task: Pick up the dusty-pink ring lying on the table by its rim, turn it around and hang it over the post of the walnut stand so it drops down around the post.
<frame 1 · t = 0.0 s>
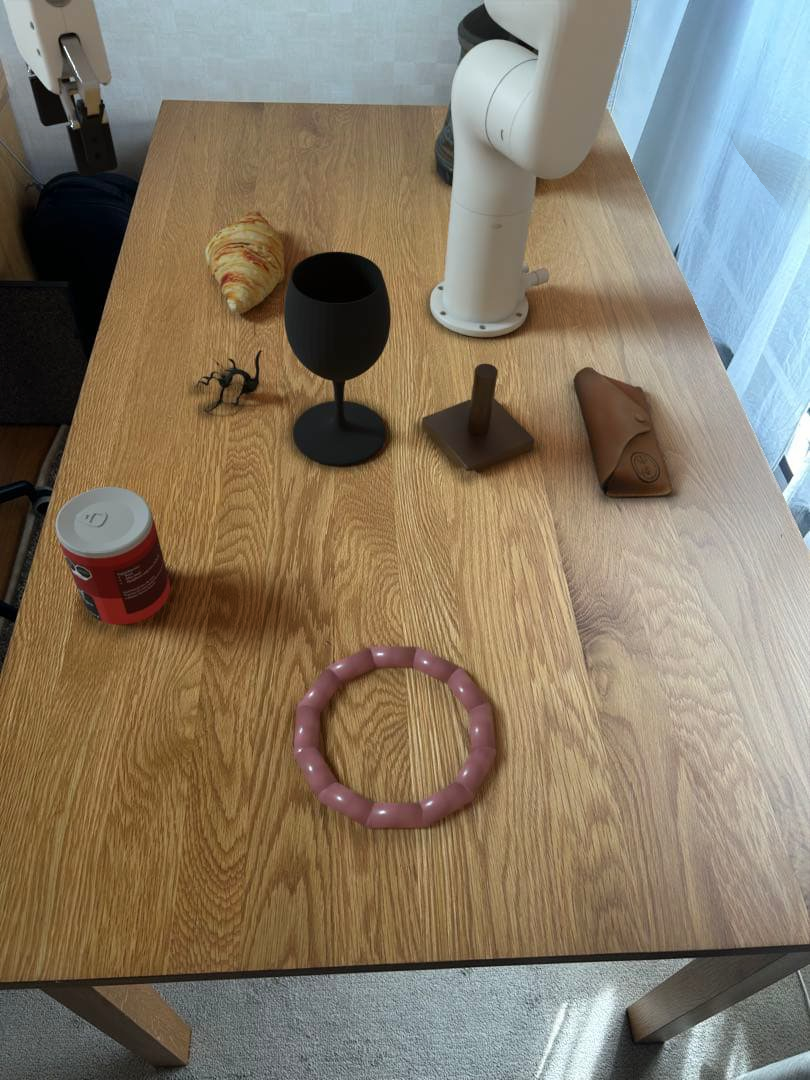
hand: (78, 146, 76), 31 cm above the table, tool pointing down, fingers open, 9 cm apart
wine glass: (339, 435, 100), on the table
sunglasses case: (619, 440, 101), on the table
stand: (476, 438, 100), on the table
ring: (394, 731, 75), point 1 cm above the table
creature: (228, 395, 103), on the table
croissant: (246, 276, 119), on the table
beer stein: (492, 175, 139), on the table
canned food: (128, 598, 84), on the table
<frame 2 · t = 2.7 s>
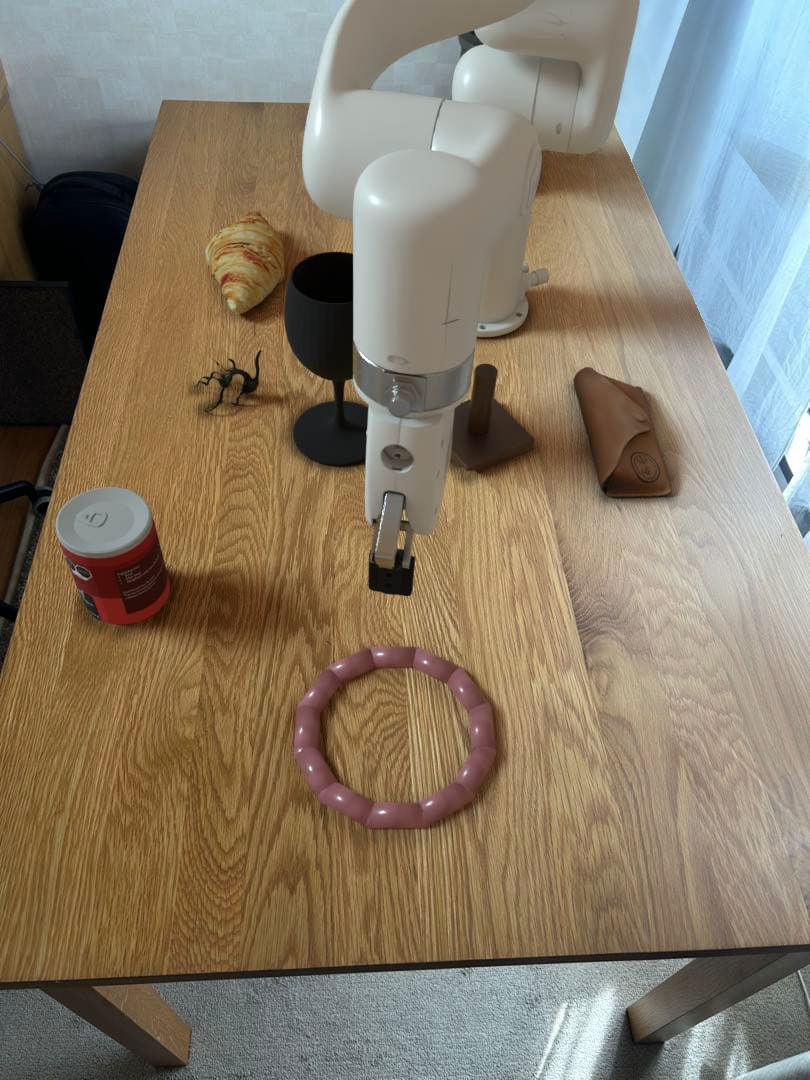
hand: (401, 541, 69), 16 cm above the table, tool pointing down, fingers open, 9 cm apart
nothing on the table moved.
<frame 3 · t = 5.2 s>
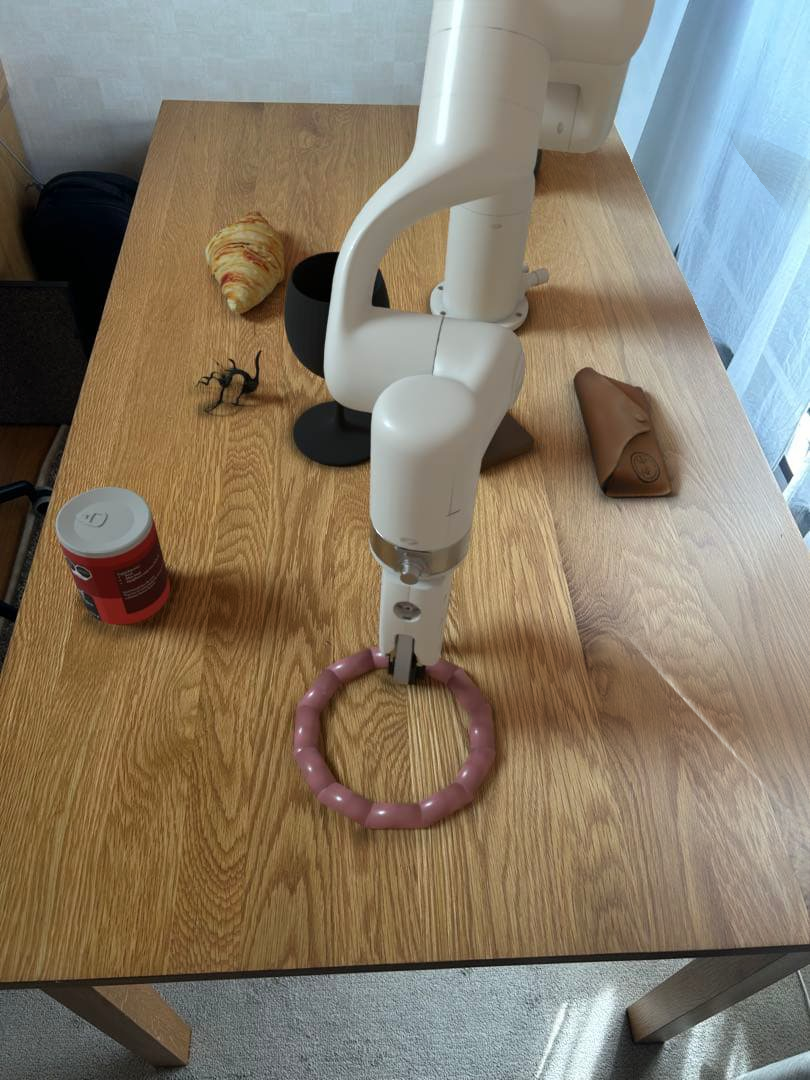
hand: (409, 663, 80), 0 cm above the table, tool pointing down, fingers closed on ring, 2 cm apart
ring: (394, 732, 75), point 1 cm above the table, touching gripper
everything else where it was.
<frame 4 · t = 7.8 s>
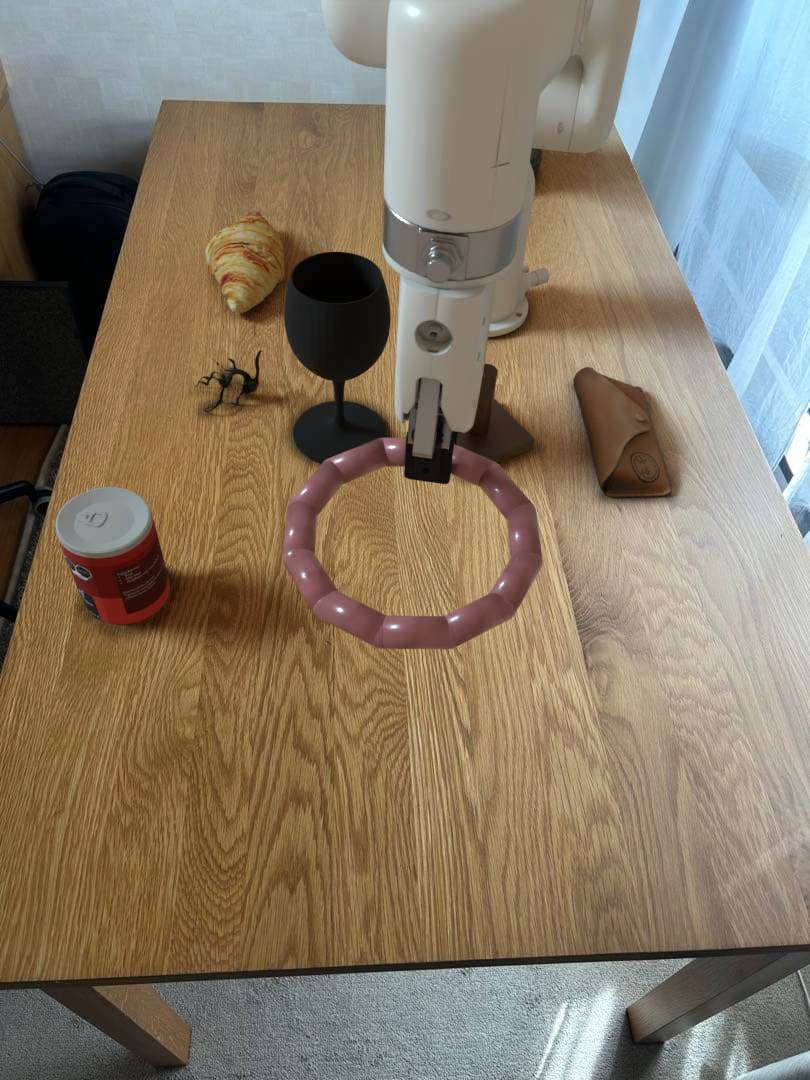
hand: (430, 461, 64), 24 cm above the table, tool pointing down, fingers closed on ring, 2 cm apart
ring: (412, 535, 59), point 24 cm above the table, touching gripper
everything else where it was.
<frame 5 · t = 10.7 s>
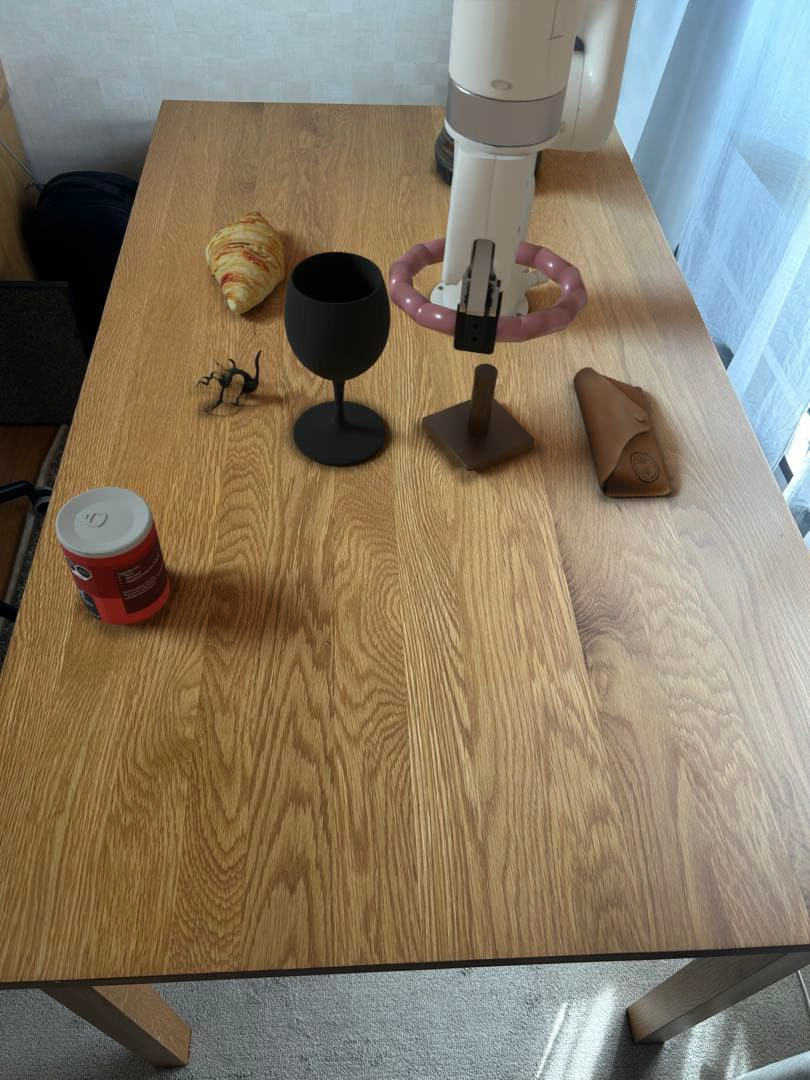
hand: (475, 336, 72), 25 cm above the table, tool pointing down, fingers closed on ring, 2 cm apart
ring: (487, 285, 76), point 25 cm above the table, tilted 7°, touching gripper
everything else where it was.
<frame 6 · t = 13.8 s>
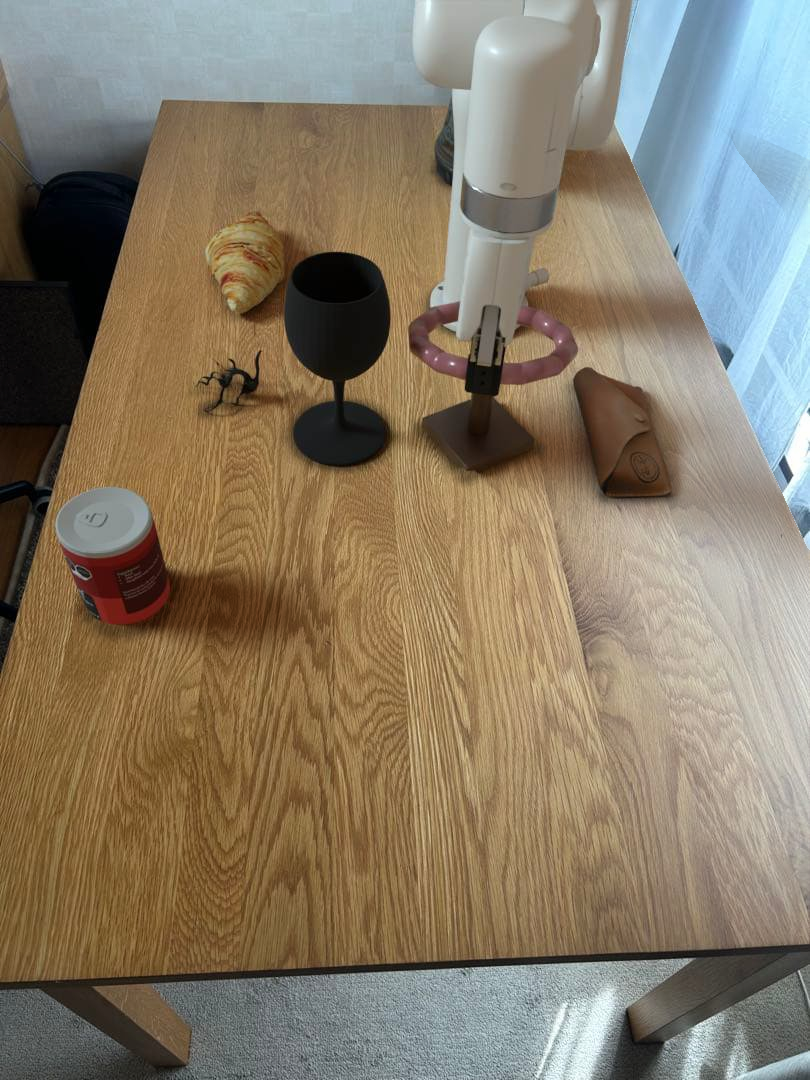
hand: (483, 380, 84), 14 cm above the table, tool pointing down, fingers closed on ring, 2 cm apart
ring: (491, 339, 90), point 14 cm above the table, tilted 12°, touching gripper
everything else where it was.
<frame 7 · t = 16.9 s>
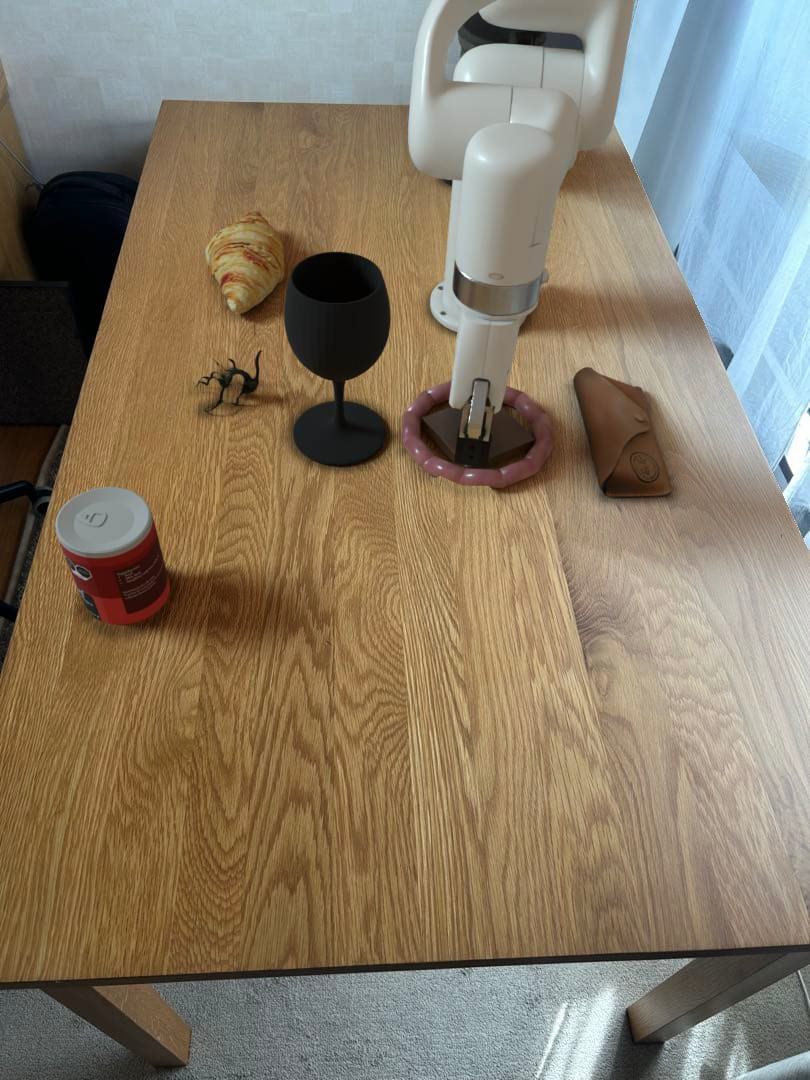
hand: (476, 429, 89), 8 cm above the table, tool pointing down, fingers open, 9 cm apart
ring: (477, 431, 99), point 1 cm above the table
everything else where it was.
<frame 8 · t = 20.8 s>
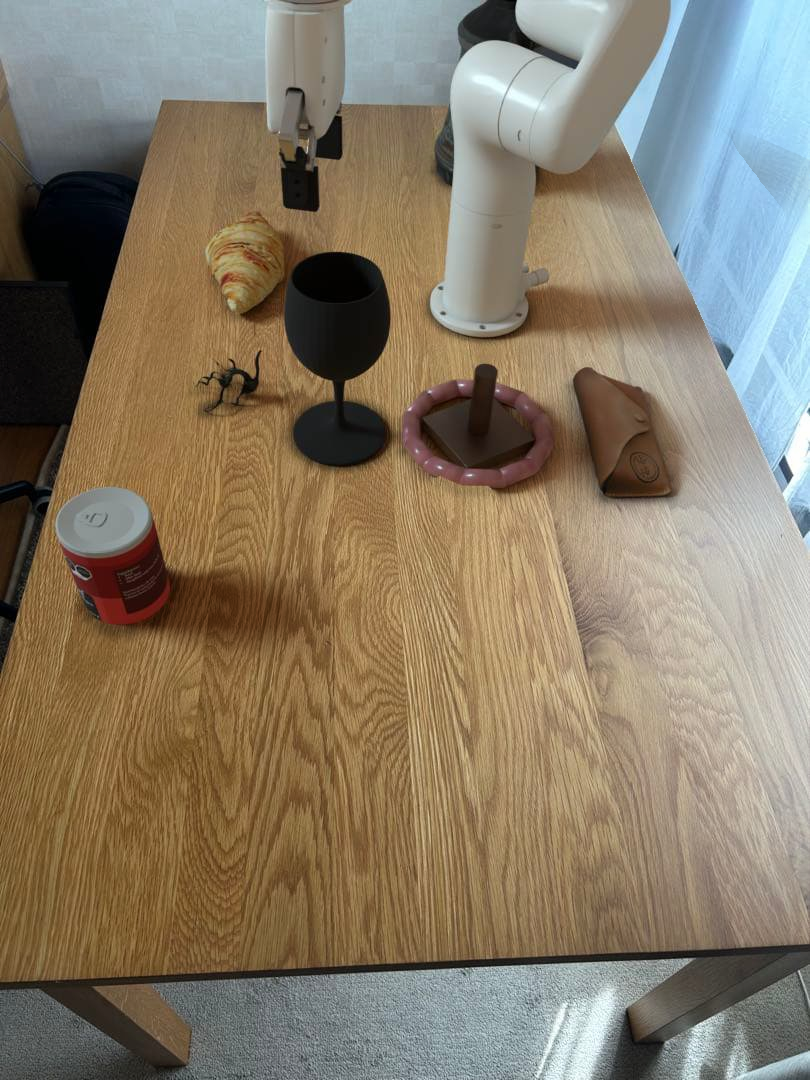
hand: (314, 181, 83), 26 cm above the table, tool pointing down, fingers open, 9 cm apart
nothing on the table moved.
at the end: ring 0.1 cm from the stand (horizontally); ring point 1.0 cm above the table; the gripper is holding nothing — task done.
